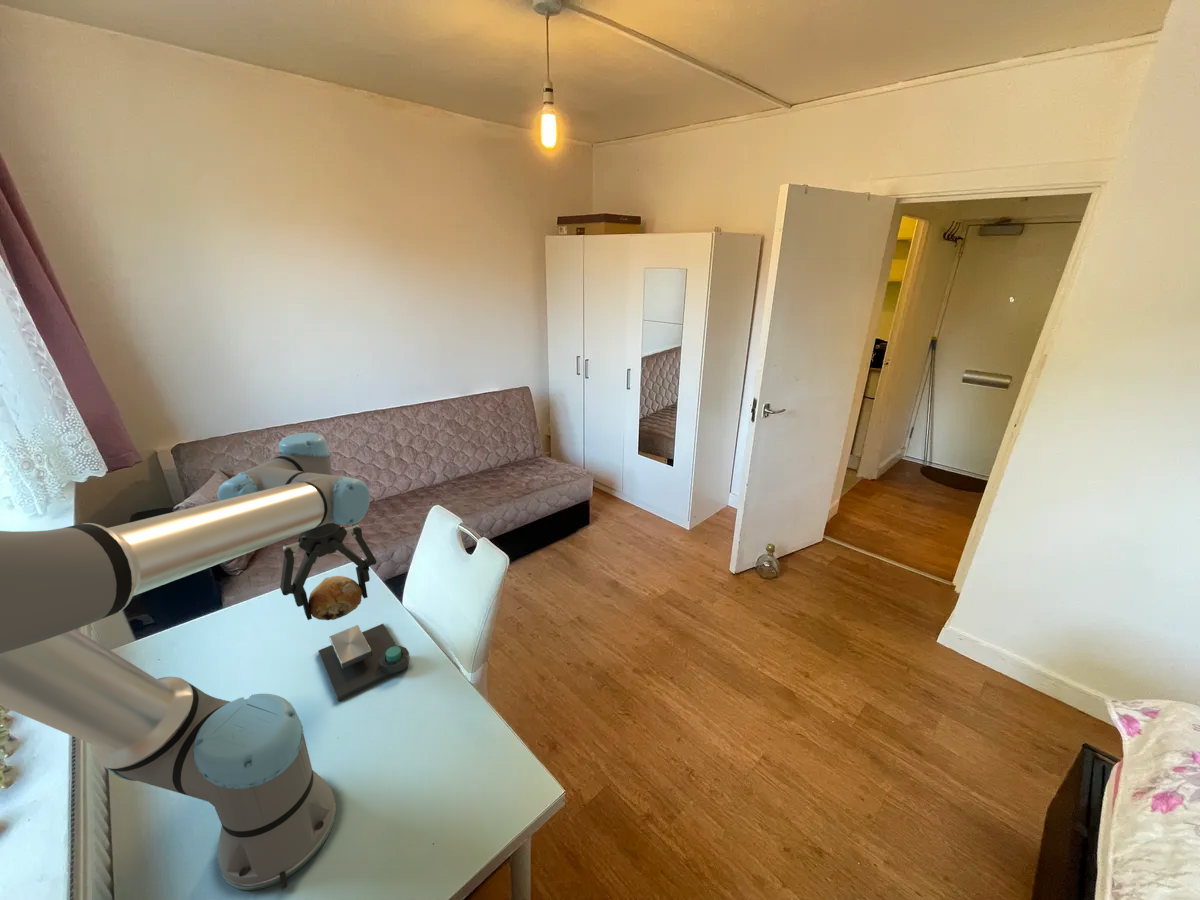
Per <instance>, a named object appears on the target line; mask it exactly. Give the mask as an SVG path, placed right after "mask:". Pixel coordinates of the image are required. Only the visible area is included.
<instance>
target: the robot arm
mask: <svg viewBox="0 0 1200 900" xmlns="http://www.w3.org/2000/svg"><path fill="white" fill-rule="evenodd" d="M328 447H329V446H328V444H327V440H326V438H325V437H324V436H323V435H322V434H319V433H316V432H300V433H294V434H290V435H287V436H285V437H283V438H282V439H281V440H279V442H278V448H279V449H278V453H279V454H280V455H277V456H275V457H274V458H272V459H270V460H268V461H266V462H263V463H261V464H258V465H256V466H254V467H251V468H250V469H247V470H246V471H241V472H239V473H238V474H236V475H235V476H233V477H230V478H228V479H227V480H226V481H224V482H222V483H221V484H220V486H219V487H218V490H217V499H218V500H217V501H214V502H209V503H206V504H201V505H196V506H192V507H189V508H185V509H181V510H176V511H172V512H169V513H163V514H159V515H156V516H152V517H151V516H150V517H147V518H143V519H138V520H134V521H131V522H127V523H123V524H119V525H115V526H111V527H106V526H104V525H101V524H98V523H91V522H84V523H83V522H82V523H79V524H74V525H70V526H65V527H60V528H54V529H48V530H46V529H45V530H29V531H24V530H23V531H9V530H0V706H1V707H3V708H5V709H7V710H10V711H12V712H15V713H18V714H20V715H21V716H24V717H27V718H29V719H31V720H33V721H36V722H38V723H40V724H43V725H46V726H48V727H50V728H53V729H55V730H57V731H60V732H61V733H65V734H67V735H69V736H71V737H74V738H76V739H78V740H81V741H83V742H85V743H88V744H90V745H91V753H92V757H93V759H94V761H95V762H96V763H97V764H98V765H99V766H101V767H103V768H105V769H106V770H108V771H109V772H111V773H113V775H114V776H116V777H118V778H120V779H123V780H127V781H133V782H141V783H143V784H147V785H150V786H154V787H157V788H160V789H164V790H168V791H172V792H174V793H178V794H182V795H184V796H186V797H187V796H188V797H191V798H195V799H197V800H201V801H205V802H208V803H209V804H211V805H212V806H213V807H214V810H215V812H216V814H217V817H218V819H219V821H220V825H221V827H220V832H219V838H218V845H217V863H218V868H219V870H220V871H219V872H220V873H221V876H222V877H223V879H224V881H225V882H226V883H227V884H228V885H230V886H231V887H233V888H235V889H238V890H243V891H254V890H255V891H256V890H261V889H265V888H268V887H271V886H274V885H276V884H278V883H280V889H281V890H284V889H286V888H288V882H287V879H288V878H289V877H292V875H294V874H295V873H297V872H298V871H299V870H300V869H302V868H303V867H304V866H306V864H307V863H308V862H310V861H311V859H313V857H314V856H315V855H316V854H317V853H318V852H319V850H320V849H321V848H322V846H323V845H324V843H325V842H326V841H327V839H328V837H329V835H330V833H331V831H332V829H333V827H334V823H335V820H336V814H337V804H336V799H335V795H334V791H333V790H332V788H331V786H330V785H329V783H328V781H326V780H325V779H324V778H323V777H321V775H319V774H318V773H317V772H316V771H314V770H313V767H312V763H311V758H310V754H309V750H308V746H307V741H306V738H305V735H304V729H303V723H302V721H301V719H300V717H299V715H298V714H297V711H296V709H295V707H294V706H293V705H292V703H291V702H289V701H288V699H286V698H285V697H282V696H280V695H277V694H274V693H273V694H272V693H254V694H251V695H250V696H249V697H248V698H246V699H245V698H244V697H243V696H242V697H238V698H236V699H234V700H232V701H230V700H226V699H222V698H218V697H215V696H211V695H209V694H207V693H205V692H204V691H203V690H200V688H198V687H197V686H195V685H194V684H191V683H190V682H189V681H187V680H185V679H183V678H181V677H179V676H164V677H163V676H162V677H158V678H156V677H155V676H152V675H151V674H149V673H148V672H146V671H145V670H143V669H141V668H140V667H138V666H136V665H135V664H133V663H132V662H130V661H128V660H126V659H125V658H123V657H122V656H121V655H119V654H117V653H115V652H113V651H112V650H110V649H109V648H107V647H105V646H104V645H102V644H101V643H99V642H97V640H94V639H93V638H91V637H89V636H88V635H87V634H84V633H83V632H82V631H80V630H78V629H80V628H83V627H85V626H89V625H91V624H93V623H95V622H98V621H100V620H103V619H105V618H108V617H110V616H113V615H115V614H118V613H120V612H122V611H123V610H125V609H126V608H127V606H128V605H129V604H130V602H131V601H132V599H133V597H134V596H137V595H139V594H143V593H145V592H148V591H150V590H153V589H155V588H159V587H161V586H163V585H166V584H169V583H171V582H174V581H177V580H180V579H182V578H186V577H188V576H191V575H192V574H196V573H198V572H201V571H204V570H207V569H208V568H211V567H214V566H217V565H219V564H222V563H225V562H227V561H230V560H233V559H235V558H239V557H240V556H243V555H246V554H249V553H252V552H254V551H256V550H259V549H263V548H264V547H267V546H270V545H273V544H275V543H278V542H280V541H283V540H286V539H289V538H292V537H294V536H297V535H299V538H298V540H297V542H293V543H291V544H289V543H284V544H282V545H281V549H282V552H283V555H284V556H283V561H282V562H283V564H282V571H281V578H280V584H279V585H280V586H279V588H280V591H281V594H282V595H283V596H289V595H293V598H294V602H295V605H296V606H297V607H298V608H300V607H303V612H304V615H305V617H306V619H307V621H310V620H312V619H313V616H312V615H311V612H310V608H309V603H308V602H309V598H308V596H307V595H308V594H307V591H306V589H305V587H304V586H305V583H306V581H307V579H308V577H309V575H310V572H311V570H312V567H313V565H314V564H315V563H316V561H317V559H318V558H322V557H324V556H326V555H330V554H334V553H337V551H338V552H339V553H340V554H342V555H343V556H344V557H346V558H347V559H349V560H350V561H351V562H352V563H353V564H355V565H356V567H355V572H356V577H357V583H358V584H359V586H360V587H361V588H362V598H363V599H367V598H368V590H367V586H366V585H367V584H366V583H368V582H370V579H371V578H370V572H369V571H370V567H371V566H374V565H376V564H377V560H376V557H375V556H374V554H373V553H372V551H371V549H370V547H369V546H368V544H367V542H366V541H365V538H364V537H363V532H362V528H361V526H360V525H359V522H361V521H362V520H363V519H364V518H365V516H366V515H367V513H368V510H369V507H370V504H371V500H370V499H371V497H370V496H371V491H370V488H369V487H368V485H367V484H366V482H364V481H363V480H361V479H358V478H354V477H350V476H349V477H348V476H346V475H335V474H334V473H333V467H332V461H331V453H330V450H329V448H328ZM344 525H346V526H348V527H344ZM347 535H349V536H350V538H354V539H355V541H356V542H357V544H358V546H359V548H360V549H361V551H362V552H363V555H364V556H365V559H363V558H361V556H359V555H358V554H357V553H356V552H354V551H353V550H352V549H351V548H350V547H349V546H348V545H346V544H345V543H344V540H345V539H346V537H347ZM300 549H301V550H302V551H304V553H303V559H302V560H301V562H300V565H299V567H298V570H297V572H296V574H295V576H294V579H293V572H294V565H295V556H297V554H298V551H299V550H300ZM292 579H293V582H292Z"/></svg>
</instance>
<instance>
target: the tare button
mask: <svg viewBox="0 0 1200 900" xmlns="http://www.w3.org/2000/svg"><path fill="white" fill-rule="evenodd" d="M397 646H398V645H396V646H394V647H391V648H389V649H388V650H387V651H386V659H387V661H388V662H389V663H394V662H397V661H398V660H400V658H401V649H400V648H399V647H397Z"/></svg>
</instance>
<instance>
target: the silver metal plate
mask: <svg viewBox="0 0 1200 900" xmlns="http://www.w3.org/2000/svg"><path fill="white" fill-rule="evenodd" d="M362 632H363V631H362V630H361V628H360V626H359V625H358V624H357V625H354V626H351V627H349V628H347V629H344V630H342V631H339V632H336V633H334V634H332V635H330V636H329V637H328V638H329V642H330V644H331V645H332V647H333V649H334V651H335V653H336V656H337V658H338V660H339V662H340V665H341V667H342V669H344V668H346V667H348V666H350V665H353V664H355V663H357V662H359V661H361V660H364V659H366V658H368V657H370V656H372V650H371V649H370V647H369V645H368V643H367V641H366V639H365V637H364V635H363V634H362Z"/></svg>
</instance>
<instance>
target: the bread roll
mask: <svg viewBox="0 0 1200 900" xmlns="http://www.w3.org/2000/svg"><path fill="white" fill-rule="evenodd" d="M362 598H363V596H362V588H361V587H360V586H359V583H358V582H357V581H356V580H354V579H353V578H350V577H348V576H343V575H334V576H329V577H325V578H324V579H323V580H322V581H321V582H320V583H319V584H317V586H315V588H313V589H312V591H311V592H310V594H309V597H308V603H309V608H310V612H311V616H312V618H314V619H317V620H319V621H320V620H321V621H334V620H337V619H340V618H342V617H346V616H347V615H348V614H350V613H351V612H353V611H354V610H356V609H357V608H358V607H359V605H360V604H361V603H362Z"/></svg>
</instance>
